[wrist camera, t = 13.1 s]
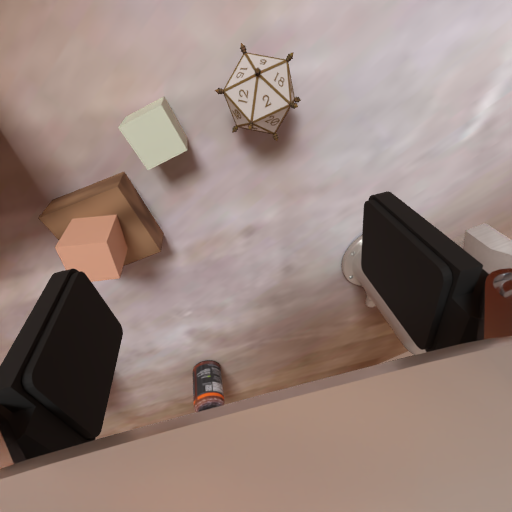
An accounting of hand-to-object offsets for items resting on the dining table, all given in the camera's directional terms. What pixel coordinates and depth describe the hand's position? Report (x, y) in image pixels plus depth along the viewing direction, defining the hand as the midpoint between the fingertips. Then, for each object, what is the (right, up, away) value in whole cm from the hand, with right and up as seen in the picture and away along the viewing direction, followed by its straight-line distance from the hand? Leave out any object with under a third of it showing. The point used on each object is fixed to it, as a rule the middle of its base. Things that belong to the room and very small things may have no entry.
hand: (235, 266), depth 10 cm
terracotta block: (-19, +3, +27) cm, 33 cm away
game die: (0, +20, +25) cm, 32 cm away
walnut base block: (-19, +6, +31) cm, 37 cm away
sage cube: (-11, +16, +26) cm, 32 cm away
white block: (+42, +3, +47) cm, 63 cm away
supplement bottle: (-10, -24, +55) cm, 61 cm away
